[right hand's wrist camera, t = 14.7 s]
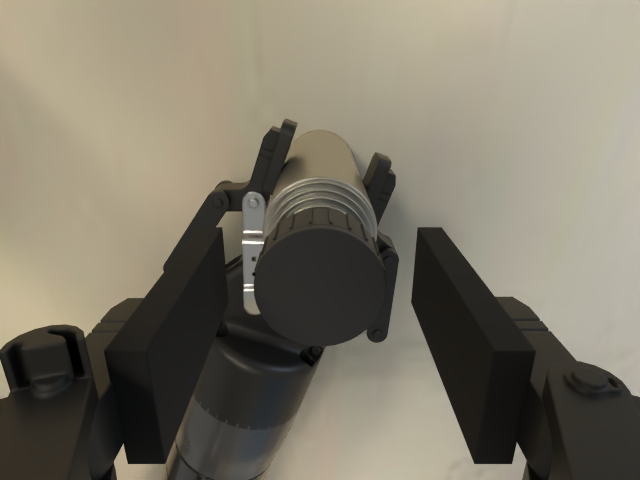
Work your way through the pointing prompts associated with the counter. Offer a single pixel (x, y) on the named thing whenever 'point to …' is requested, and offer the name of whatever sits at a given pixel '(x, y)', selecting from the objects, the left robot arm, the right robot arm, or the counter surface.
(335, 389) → the counter surface
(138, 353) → the right robot arm
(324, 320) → the cap
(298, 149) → the bottle
